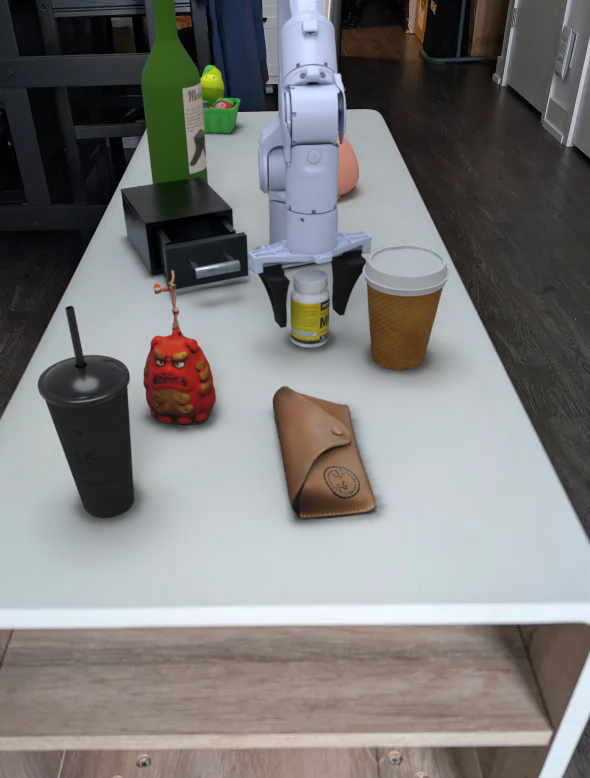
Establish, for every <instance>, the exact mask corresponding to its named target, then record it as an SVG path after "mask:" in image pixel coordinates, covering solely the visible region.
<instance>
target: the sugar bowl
mask: <svg viewBox="0 0 590 778" xmlns="http://www.w3.org/2000/svg"><path fill="white" fill-rule="evenodd" d="M336 143H337V144H338V145H339V168H338V197H337V200H338V199H341V198H342V196H343V195H345V194H347V193H349V192H351V190H353V188H354V187H355V186H356V185H357V183H358V182H359V179H360V167H359V162H358V158H357V156H356V154H355V151H354V149H353V147H352V145H351V143H350V142H349V140H348V139H347V137H346V136H345V135H344V140H343V144H342V145H341V144H340V142H339V136H338V132H337V141H336Z"/></svg>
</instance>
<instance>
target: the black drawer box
mask: <svg viewBox="0 0 590 778" xmlns="http://www.w3.org/2000/svg"><path fill="white" fill-rule="evenodd" d="M120 194H121V201H122V208H123V215H124V223H125V231H126V238H127V240H128V241H129V243H130V244H131V246H132V247H133V249H134V251H135V252H136V254H137V255H138V257H139V259H140V260H141V261H142V263H143V265H144V266H145V268H146V269H147V270H148V272H149V273H150V275H151V276H152V277H153V276H158V275H163V274H164V275H165V273H164V271H163V270H162V269H161V267H160V266H159V264H158V263H157V261H156V260H155V253H154V245H153V237H152V228H153V227H159V226H165V225H171V224H177V223H183V222H189V221H196V220H202V219H208V218H214V217H220V216H223V218H224V219H225V220H226V221H227V222H228V223H229V224H230V225H231V226H232V227H233V228H234V215H233V214H234V213H233V212H234V211H233V207H232V206H230V205H229V204H228V203H227V202H226V200H225V199H223V198H222V197H221V195H219V194H218V193H217V191H216V190H214V189H213V187H211V185H210V184H209V183H208V184H207V183H206V181H205V180H204V179H203V178H202V177H197V178H190V179H183V180H177V181H170V182H163V183H157V184H153V183H150V184H144V185H137V186H130V187H124V188H120Z"/></svg>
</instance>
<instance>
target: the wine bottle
mask: <svg viewBox="0 0 590 778" xmlns="http://www.w3.org/2000/svg"><path fill="white" fill-rule="evenodd" d="M152 5H153V18H154V31H155V38H154V39H155V40H154V43H153V45H152V48H151V50H150V53H149V55H148V58H147V60H146V61H145V65H144V67H143V69H142V72H141V83H140V85H141V95H142V102H143V111H144V119H145V120H144V121H145V128H146V139H147V146H148V154H149V164H150V171H151V181H152V184H157V183H163V182H170V181H177V180H183V179H190V178H197V177H202V178H203V179H204V180H205V181H206V183H207V184H208V185H209V179H208V163H207V162H208V161H207V160H208V159H207V149H206V147H207V146H206V135H205V132H204V119H203V105H202V91H201V80H200V79H201V77H200V72H199V69H198V67H197V65H196V64H195V63H194V61H193V60H192V58H191V57H190V55H189V53H188V51H187V50H186V48H185V47H184V45H183V43H182V42H181V41H180V37H179V36H178V25H177V17H176V6H175V0H152Z"/></svg>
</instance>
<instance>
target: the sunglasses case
mask: <svg viewBox="0 0 590 778" xmlns="http://www.w3.org/2000/svg"><path fill="white" fill-rule="evenodd" d="M272 408H273V415H274V420H275V424H276V431H277V432H276V433H277V439H278V443H279V447H280V454H281V459H282V460H281V461H282V465H283V471H284V477H285V483H286V488H287V494H288V495H287V496H288V500H289V504H290V508H291V510H292V512H294V514H296V516H297V517H299V518H300V519H306V520H308V519H328V518H339V517H347V516H352V515H361V514H366V513H370V512H372V511H374V510H376V508H377V503H376V502H377V501H376V499H375V498H376V497H375V495H374V492H373V489H372V487H371V483H370V480H369V478H368V475H367V472H366V469H365V466H364V463H363V460H362V456H361V453H360V450H359V446H358V443H357V442H358V441H357V438H356V435H355V431H354V427H353V423H352V422H353V421H352V417H351V409H350V406H349V405H348V404H341V403H335V402H333V401H329V400H326V399H323V398H318V397H315V396H312V395H308V394H305V393H300V392H298V391H296V390H294V389H292V388H291V387H289V386H288V385H283V386H280V387H279V388H278V389H277V390H276V391H275V393H274V395H273V397H272Z"/></svg>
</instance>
